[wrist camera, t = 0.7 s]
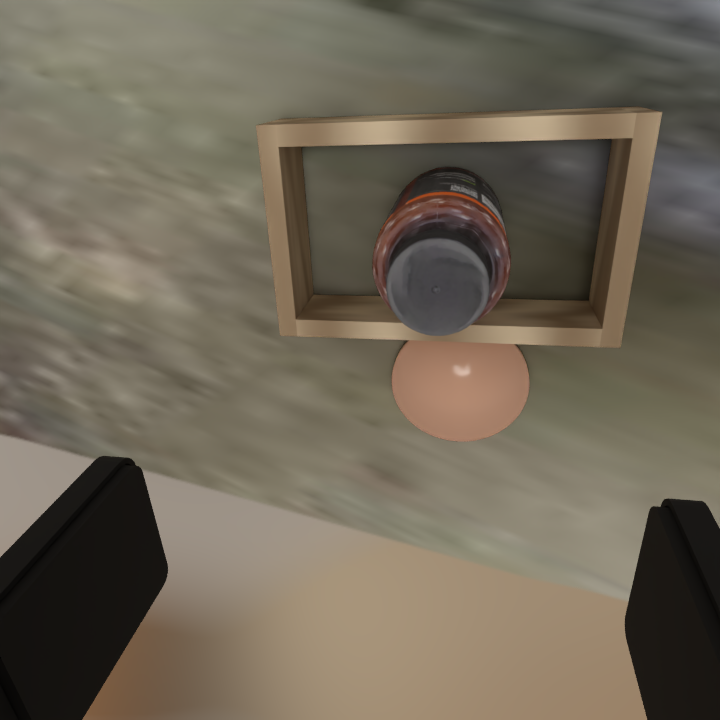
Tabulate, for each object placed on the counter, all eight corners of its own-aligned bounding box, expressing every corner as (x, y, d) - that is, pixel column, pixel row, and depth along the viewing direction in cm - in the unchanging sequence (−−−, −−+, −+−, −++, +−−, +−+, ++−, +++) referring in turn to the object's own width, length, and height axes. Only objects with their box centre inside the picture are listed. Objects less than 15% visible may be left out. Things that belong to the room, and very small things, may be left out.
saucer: (535, 320, 33) (535, 324, 33) (522, 440, 37) (523, 445, 37) (391, 316, 35) (390, 320, 34) (393, 432, 39) (392, 437, 38)
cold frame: (638, 106, 28) (662, 112, 24) (604, 317, 33) (620, 347, 29) (281, 118, 31) (256, 125, 27) (299, 309, 36) (280, 335, 32)
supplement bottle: (406, 281, 34) (377, 370, 24) (382, 179, 31) (339, 230, 21) (510, 261, 32) (525, 347, 22) (493, 152, 30) (501, 194, 20)
